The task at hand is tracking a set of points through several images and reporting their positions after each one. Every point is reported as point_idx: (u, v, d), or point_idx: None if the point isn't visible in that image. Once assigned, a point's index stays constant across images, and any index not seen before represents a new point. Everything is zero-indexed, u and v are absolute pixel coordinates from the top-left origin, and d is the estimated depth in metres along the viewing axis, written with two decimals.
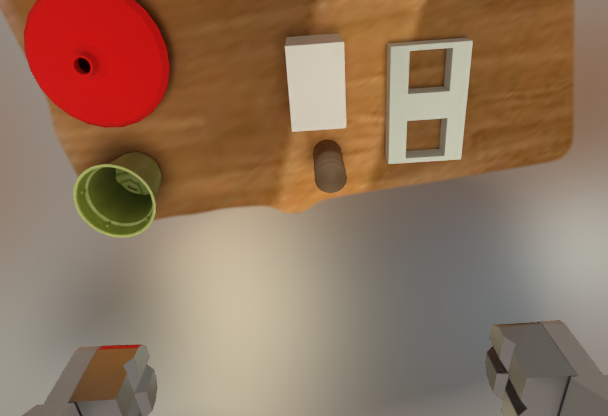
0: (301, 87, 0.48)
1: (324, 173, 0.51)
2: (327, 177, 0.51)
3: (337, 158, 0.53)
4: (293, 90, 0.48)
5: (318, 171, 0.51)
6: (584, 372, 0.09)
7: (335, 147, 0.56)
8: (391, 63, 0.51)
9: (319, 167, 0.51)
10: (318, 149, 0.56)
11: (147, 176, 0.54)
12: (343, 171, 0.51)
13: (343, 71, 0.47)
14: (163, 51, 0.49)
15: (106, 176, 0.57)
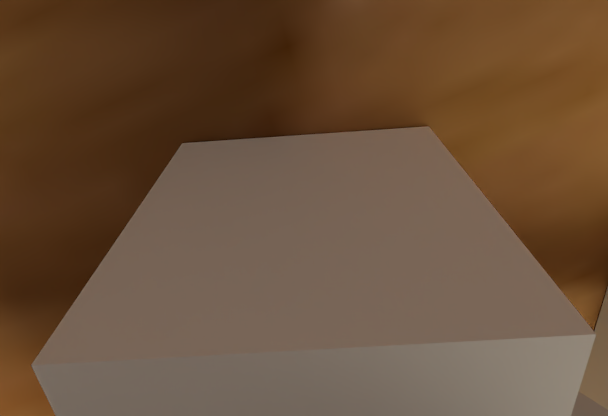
0: None
1: None
2: None
3: None
4: None
5: None
6: None
7: None
8: None
9: None
10: None
11: None
12: None
13: None
14: None
15: None
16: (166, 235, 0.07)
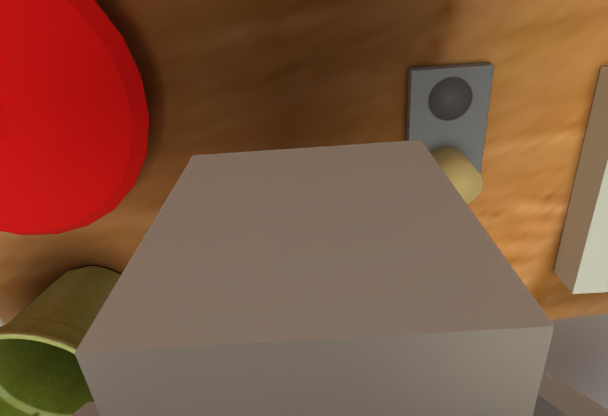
0: None
1: None
2: None
3: None
4: None
5: None
6: None
7: None
8: None
9: None
10: None
11: None
12: None
13: None
14: (133, 87, 0.22)
15: None
16: (183, 241, 0.08)
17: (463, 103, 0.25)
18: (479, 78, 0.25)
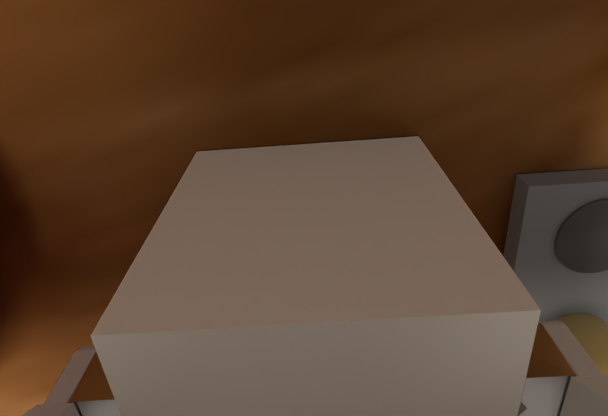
0: None
1: None
2: None
3: None
4: None
5: None
6: (584, 372, 0.09)
7: None
8: None
9: None
10: None
11: None
12: None
13: None
14: None
15: None
16: (189, 233, 0.08)
17: None
18: None
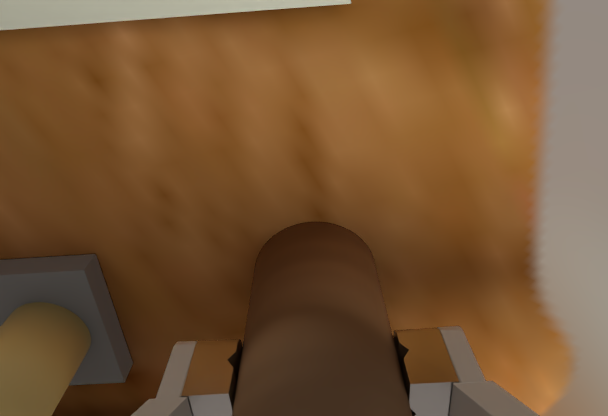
0: None
1: None
2: None
3: None
4: None
5: None
6: (467, 378, 0.09)
7: (254, 297, 0.11)
8: None
9: None
10: None
11: None
12: None
13: None
14: None
15: None
16: None
17: None
18: None
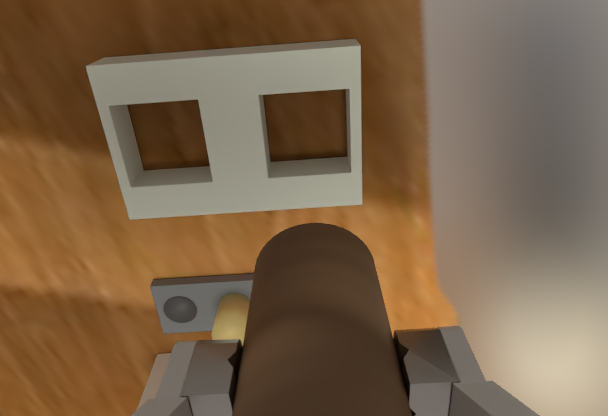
0: None
1: None
2: None
3: None
4: None
5: None
6: (467, 378, 0.09)
7: (254, 298, 0.11)
8: (159, 215, 0.27)
9: None
10: None
11: None
12: None
13: None
14: None
15: None
16: None
17: (182, 301, 0.32)
18: (161, 293, 0.32)
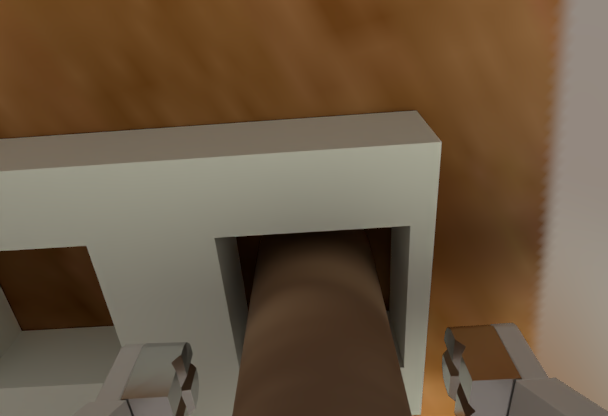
0: None
1: None
2: None
3: (240, 394, 0.09)
4: None
5: None
6: (529, 375, 0.09)
7: (258, 275, 0.12)
8: None
9: None
10: None
11: None
12: None
13: None
14: None
15: None
16: None
17: None
18: None
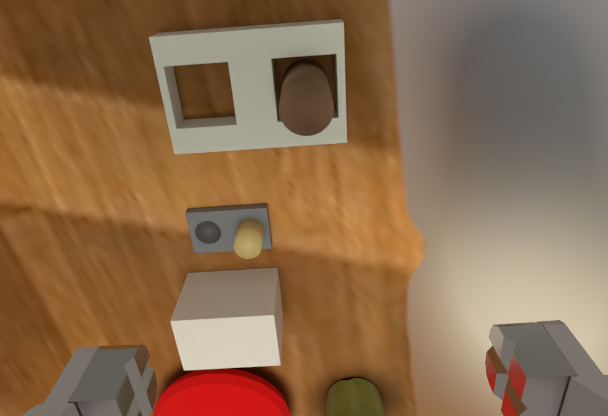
0: (227, 356, 0.41)
1: (296, 120, 0.30)
2: (303, 116, 0.30)
3: (282, 89, 0.31)
4: (231, 363, 0.41)
5: (293, 130, 0.30)
6: (584, 372, 0.09)
7: (284, 76, 0.34)
8: (196, 151, 0.37)
9: None
10: None
11: None
12: (292, 87, 0.29)
13: (203, 320, 0.39)
14: (208, 379, 0.48)
15: None
16: None
17: (210, 225, 0.42)
18: (194, 219, 0.41)
